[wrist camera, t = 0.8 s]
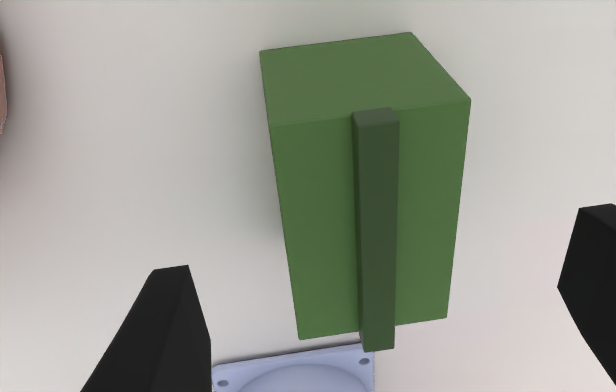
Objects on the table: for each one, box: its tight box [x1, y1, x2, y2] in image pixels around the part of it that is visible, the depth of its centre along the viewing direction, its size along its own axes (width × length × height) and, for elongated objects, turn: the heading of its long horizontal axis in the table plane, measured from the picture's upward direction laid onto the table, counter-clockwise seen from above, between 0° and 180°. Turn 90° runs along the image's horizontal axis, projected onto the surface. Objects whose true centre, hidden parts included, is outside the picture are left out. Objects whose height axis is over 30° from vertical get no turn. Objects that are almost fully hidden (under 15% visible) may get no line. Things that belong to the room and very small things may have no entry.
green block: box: [259, 32, 471, 353], centre depth 17 cm, size 8×5×6 cm, turn 5°
